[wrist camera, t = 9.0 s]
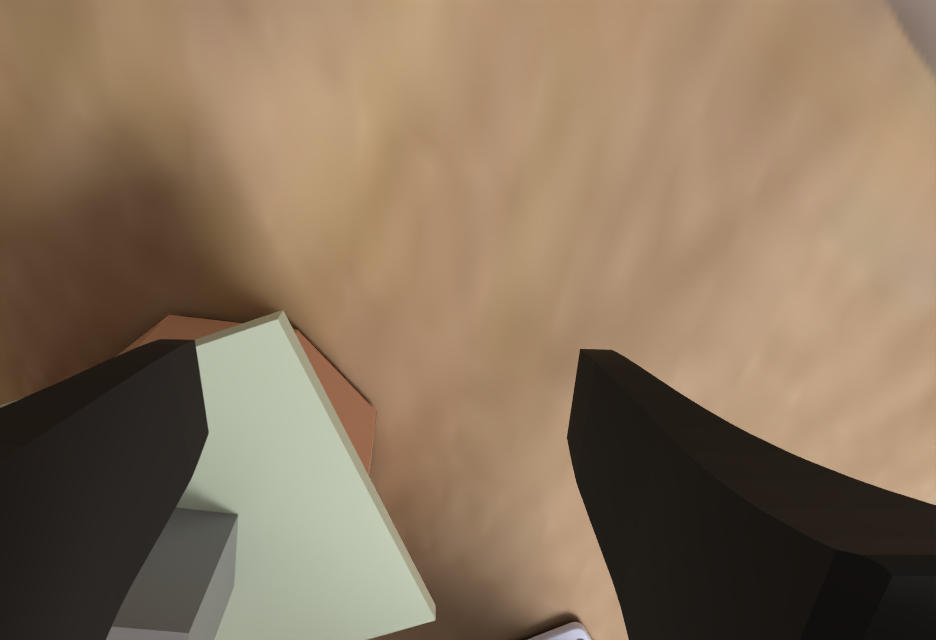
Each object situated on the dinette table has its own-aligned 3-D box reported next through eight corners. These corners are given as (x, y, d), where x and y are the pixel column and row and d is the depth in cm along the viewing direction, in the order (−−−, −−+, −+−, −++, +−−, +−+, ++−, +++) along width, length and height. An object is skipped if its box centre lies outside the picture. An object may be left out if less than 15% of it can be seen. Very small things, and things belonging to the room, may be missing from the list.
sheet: (435, 605, 21) (436, 745, 17) (127, 693, 22) (55, 845, 18) (282, 309, 16) (229, 403, 12) (-105, 440, 17) (-282, 570, 13)
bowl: (426, 457, 24) (425, 551, 20) (237, 577, 26) (196, 687, 22) (237, 259, 20) (181, 320, 16) (33, 419, 23) (-67, 513, 18)
